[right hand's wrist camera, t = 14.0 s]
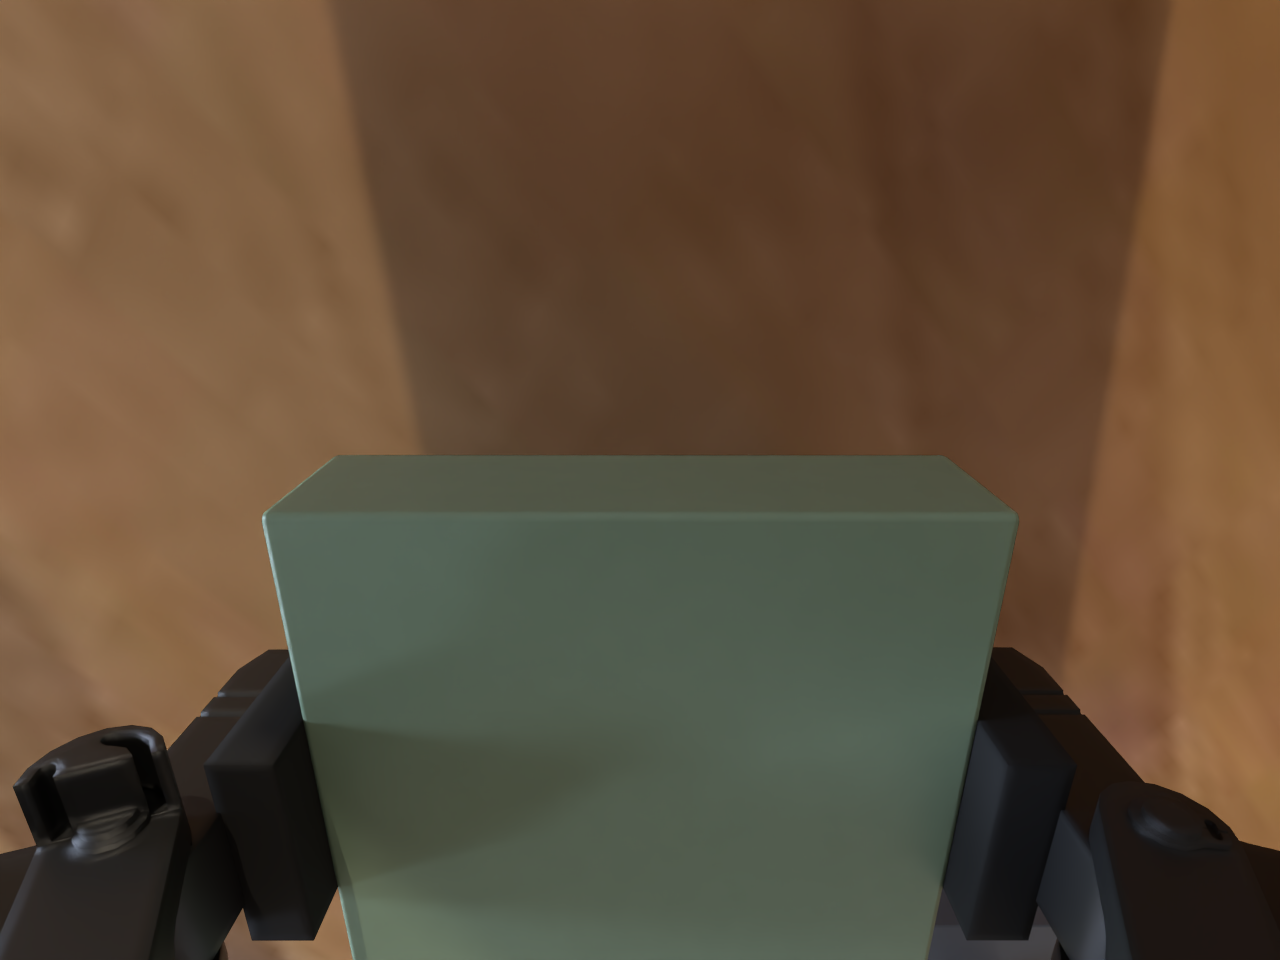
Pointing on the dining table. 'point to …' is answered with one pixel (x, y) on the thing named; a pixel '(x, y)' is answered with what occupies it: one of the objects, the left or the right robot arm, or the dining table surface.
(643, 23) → the dining table surface
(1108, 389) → the dining table surface
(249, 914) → the right robot arm
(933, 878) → the green square block
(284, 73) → the dining table surface
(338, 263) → the dining table surface
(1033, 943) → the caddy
